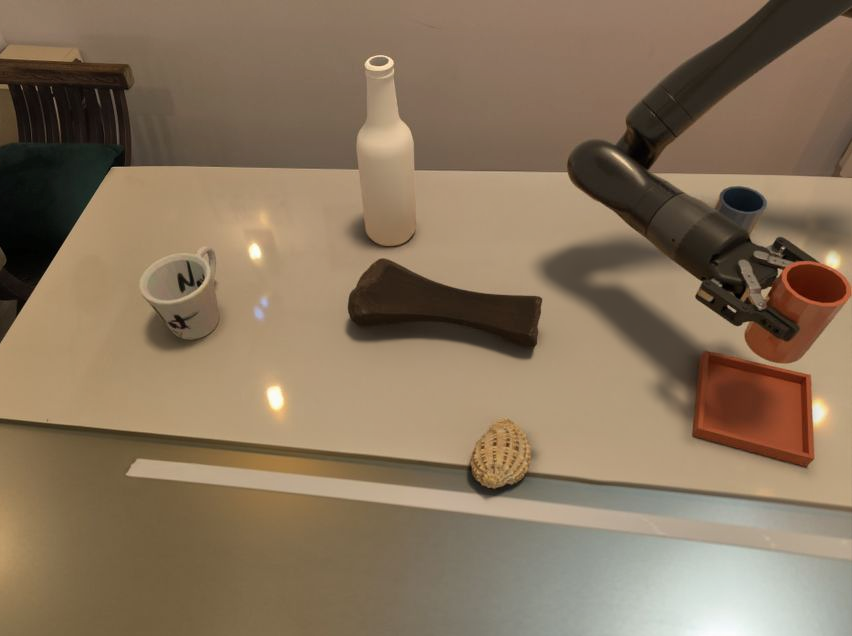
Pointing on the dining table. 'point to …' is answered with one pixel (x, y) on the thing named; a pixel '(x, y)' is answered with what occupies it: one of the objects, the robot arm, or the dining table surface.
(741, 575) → the dining table surface
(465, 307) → the dark brown bone
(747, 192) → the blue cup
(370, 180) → the alcohol
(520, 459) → the seashell
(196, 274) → the mug
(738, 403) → the terracotta tray
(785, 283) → the terracotta cup
